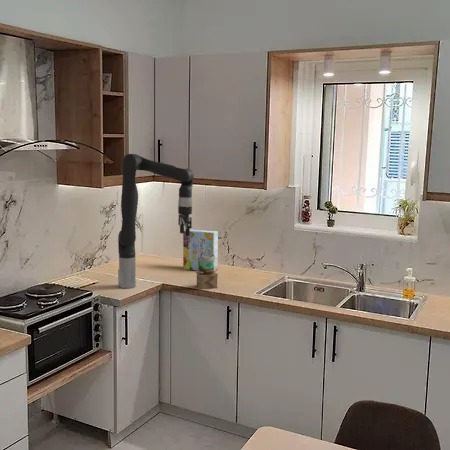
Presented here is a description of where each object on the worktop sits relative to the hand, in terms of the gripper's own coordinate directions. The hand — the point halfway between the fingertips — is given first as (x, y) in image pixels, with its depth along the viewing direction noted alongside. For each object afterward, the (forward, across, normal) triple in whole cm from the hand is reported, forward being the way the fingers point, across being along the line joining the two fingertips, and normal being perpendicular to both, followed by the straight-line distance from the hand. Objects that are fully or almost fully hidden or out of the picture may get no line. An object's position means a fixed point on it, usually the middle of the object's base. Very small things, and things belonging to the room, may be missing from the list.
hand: (184, 234), depth 312 cm
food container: (+24, -2, +16) cm, 28 cm away
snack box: (+32, -45, +28) cm, 62 cm away
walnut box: (+32, -3, +15) cm, 35 cm away
